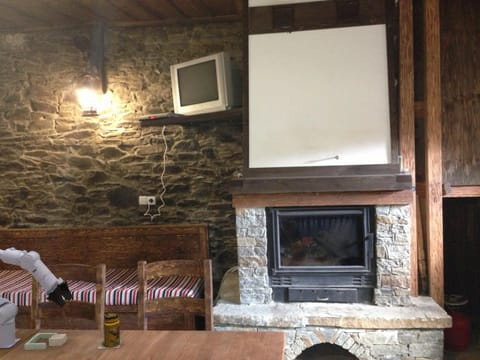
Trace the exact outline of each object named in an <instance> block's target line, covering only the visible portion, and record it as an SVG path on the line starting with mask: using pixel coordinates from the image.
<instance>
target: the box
mask: <svg viewBox="0 0 480 360" xmlns="http://www.w3.org/2000/svg"><path fill="white" fill-rule="evenodd" d="M54 334H58V332H37V333H36V334H35V335H34V336H33V337H32V338H31V339H30V340H28V341H27V342H26V343H24V345H23V346H24V351H25V350H27V351H28V350H46V349H47V343H46V342H37V341H39V340H42V339H44V340H45V339H48V340H49V339H50V338H51V337H52V336H53V335H54Z"/></svg>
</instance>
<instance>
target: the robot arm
mask: <svg viewBox="0 0 480 360" xmlns="http://www.w3.org/2000/svg"><path fill="white" fill-rule="evenodd" d="M0 260H1V261H2V262H3V263H4V264H10V265H14V266H20V268H21V269H23V270H25V271H26V270H27V272H29V274H30V275H32V277H34V278H35V280H36V281H37V282H38V284H40V285H41V286H42V288H43V289H44V290H45V291H44V294H45V296H46V299H45V300H47V301H50V302H52V303H55V304H56V305H57V306H59V307H61V308H63V307H64V306H65V305H66V304H67V302H70V301H71V300H72V299H74V296H73V294H72V292H71V291H70V288H69V285H68V283H69V282H68V281H67V280H65V281H64V280H63V279H62V277H59V278H57V277H56V276H55V275H54V274H53V272H51V270H50V269H49V268H48V267H47V266H46V265H45V264H44V263H43V261H42V260H41V256H40V254H39V253H38V252H36V251H34V250H32V251H31V250H30V251H29V252H27V250H25V249H24V250H17V249H16V248H15V247H11V248H7V249H5V250H3V249H0ZM65 300H66V301H67V302H66V301H65ZM17 314H18V306H17V305H16V304H15V303H14V302H11V301H10V300H9V299H7V298H6V297H5V298H4V297H1V296H0V349H10V348H12V347H13V346H14V345H15V344H17V343H18V342H19V341H20V340H21V338H16V321H15V319H16V315H17Z"/></svg>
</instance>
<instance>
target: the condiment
mask: <svg viewBox="0 0 480 360" xmlns="http://www.w3.org/2000/svg"><path fill="white" fill-rule="evenodd" d="M103 320H104V322H103V340H100V342H99V345H98V346H97V350H102V349H103V350H105V349H116V348H117V349H118V348H121V345H122V342H123V339H121V329H120V325H121V324H120V320H119V314H118V313H117V312H109V313H106V314H105V315H104V319H103Z"/></svg>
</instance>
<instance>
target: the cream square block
mask: <svg viewBox="0 0 480 360" xmlns="http://www.w3.org/2000/svg"><path fill="white" fill-rule="evenodd" d="M67 336H68V334H67V333H57V334H54V335H53V336H52V337H51V338H50V339H48V347H63V345H64V344H65V343H66V342H67V341H68V337H67Z"/></svg>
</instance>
